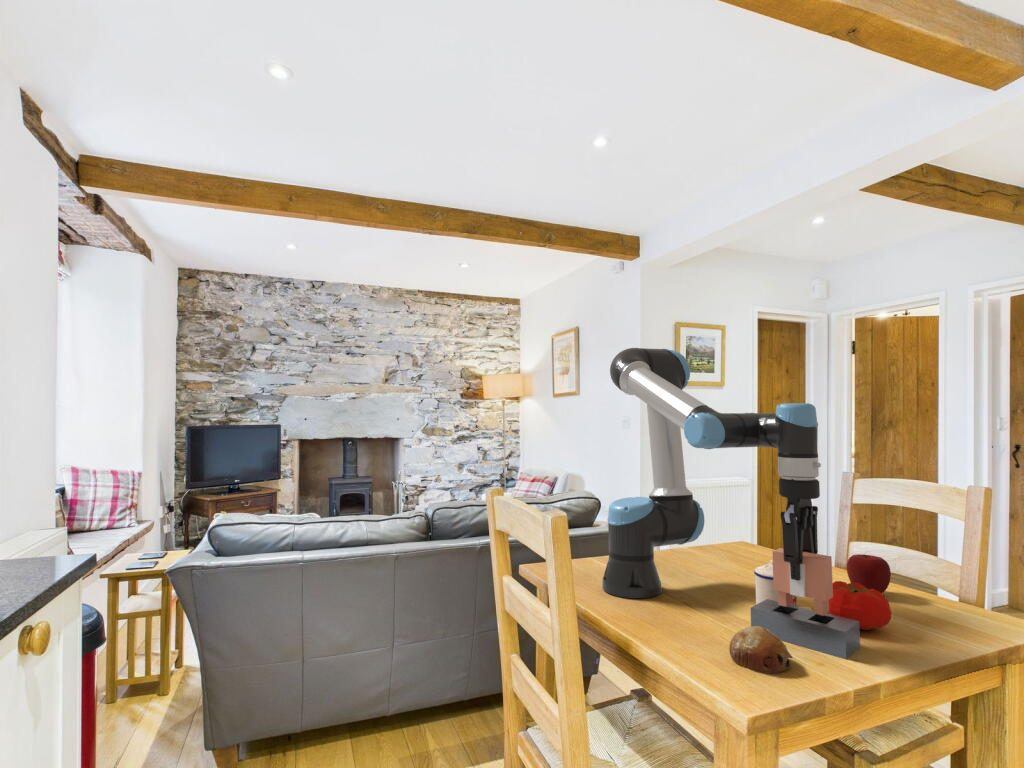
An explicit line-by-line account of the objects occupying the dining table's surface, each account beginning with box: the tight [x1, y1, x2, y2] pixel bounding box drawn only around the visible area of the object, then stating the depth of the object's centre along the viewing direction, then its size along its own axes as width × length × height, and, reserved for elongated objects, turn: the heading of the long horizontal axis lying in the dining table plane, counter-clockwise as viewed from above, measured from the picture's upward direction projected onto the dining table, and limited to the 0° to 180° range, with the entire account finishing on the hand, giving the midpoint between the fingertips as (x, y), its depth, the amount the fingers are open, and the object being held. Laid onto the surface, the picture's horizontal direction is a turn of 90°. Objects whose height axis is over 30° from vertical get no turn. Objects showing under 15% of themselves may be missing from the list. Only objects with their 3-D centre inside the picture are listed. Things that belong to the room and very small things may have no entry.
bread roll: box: [728, 626, 794, 674], centre depth 104 cm, size 10×10×8 cm
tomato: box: [827, 580, 892, 631], centre depth 120 cm, size 14×13×9 cm
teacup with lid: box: [753, 558, 798, 606], centre depth 131 cm, size 12×9×12 cm
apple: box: [846, 553, 892, 594], centre depth 142 cm, size 10×10×10 cm
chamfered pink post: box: [772, 547, 834, 616], centre depth 114 cm, size 10×4×11 cm, turn 42°
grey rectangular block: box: [750, 599, 861, 660], centre depth 114 cm, size 18×8×5 cm, turn 42°
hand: (802, 592), depth 114 cm, fingers closed on chamfered pink post, 4 cm apart
